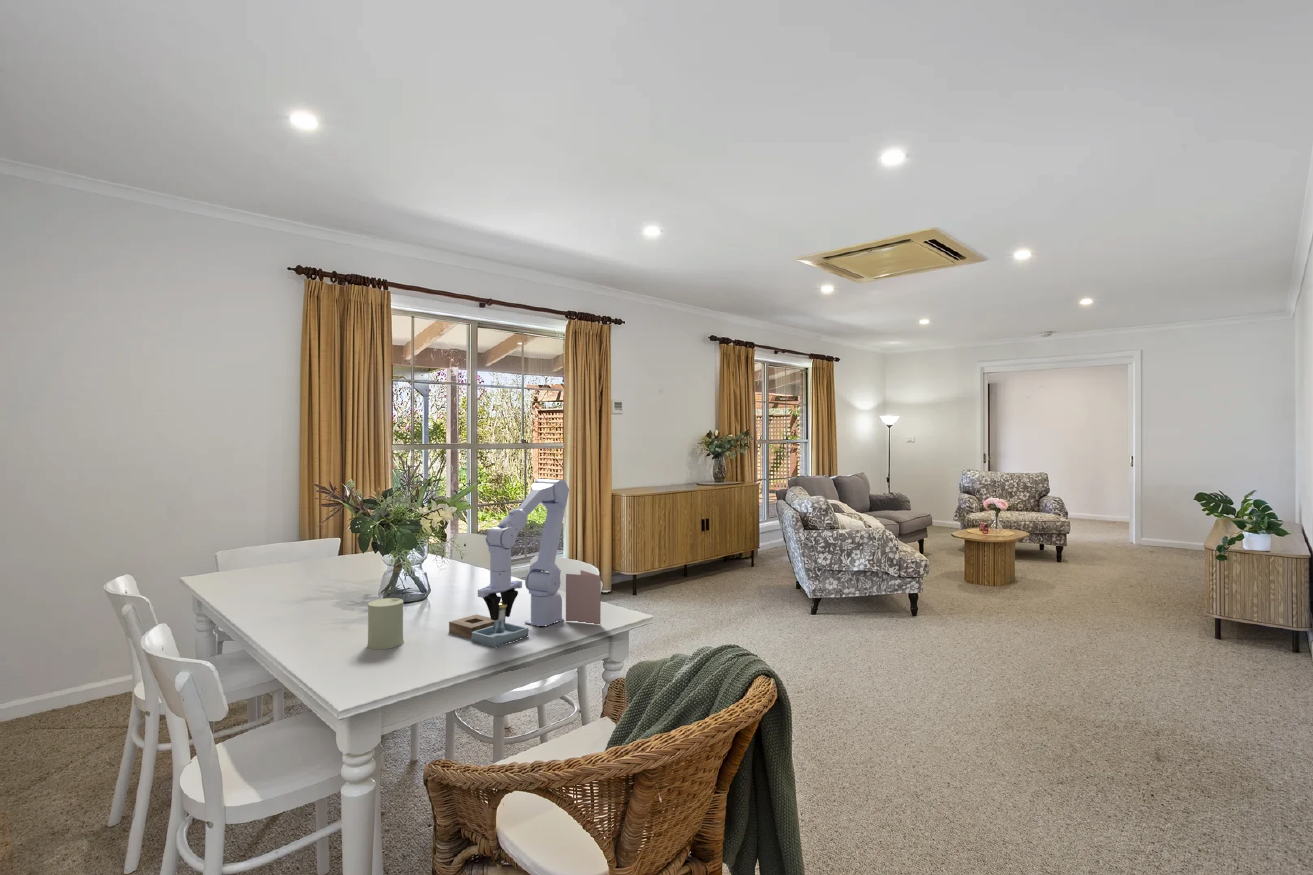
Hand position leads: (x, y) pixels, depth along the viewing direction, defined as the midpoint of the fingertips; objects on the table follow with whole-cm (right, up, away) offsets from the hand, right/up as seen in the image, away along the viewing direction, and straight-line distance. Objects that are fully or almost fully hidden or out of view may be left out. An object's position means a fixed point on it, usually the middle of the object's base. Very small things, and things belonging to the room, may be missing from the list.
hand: (500, 617), depth 184 cm
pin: (0, -4, 0) cm, 4 cm away
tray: (0, -6, 0) cm, 6 cm away
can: (-30, -6, -5) cm, 31 cm away
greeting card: (+21, -6, +16) cm, 27 cm away
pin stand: (-9, -6, +7) cm, 13 cm away
